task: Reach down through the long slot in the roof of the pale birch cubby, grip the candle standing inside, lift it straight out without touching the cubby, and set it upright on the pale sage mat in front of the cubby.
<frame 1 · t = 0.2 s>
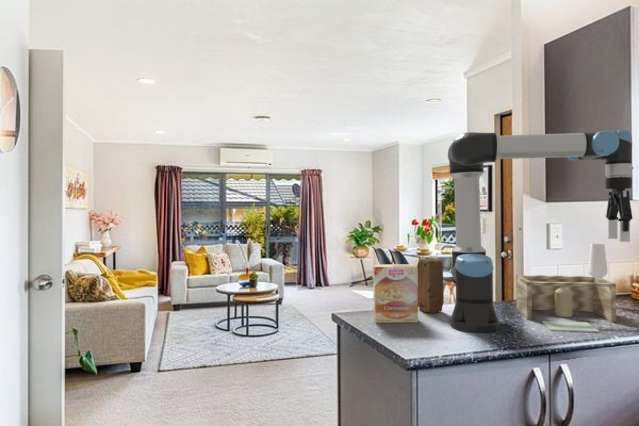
hand: (618, 240, 159), 28 cm above the countertop, fingers open, 13 cm apart
champagne flute: (597, 304, 189), on the countertop
candle: (563, 316, 170), on the countertop
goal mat: (569, 327, 154), on the countertop
block: (429, 311, 181), on the countertop
access cubby: (562, 314, 171), on the countertop
coffeecake box: (395, 321, 166), on the countertop
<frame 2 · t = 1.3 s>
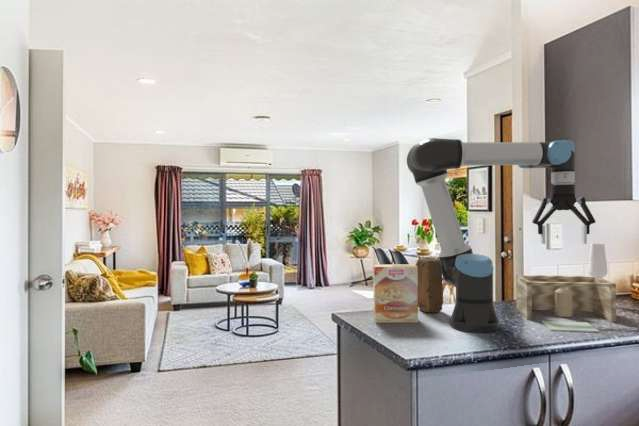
hand: (563, 243, 170), 26 cm above the countertop, fingers open, 13 cm apart
block: (429, 311, 181), on the countertop, touching arm
everything else where it was.
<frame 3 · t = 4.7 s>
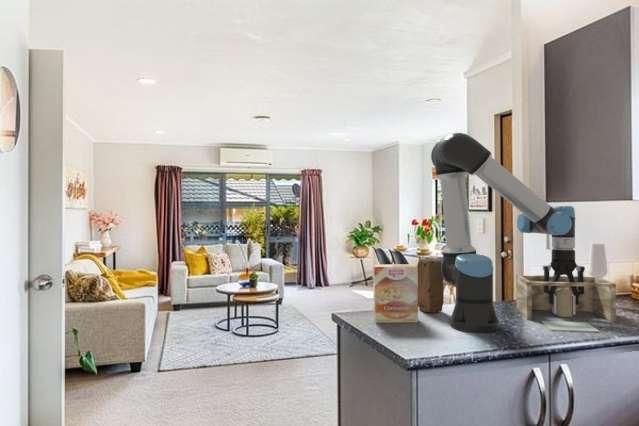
hand: (563, 313, 170), 1 cm above the countertop, fingers closed on candle, 5 cm apart
candle: (563, 316, 170), on the countertop, touching gripper
block: (429, 311, 181), on the countertop
everything else where it was.
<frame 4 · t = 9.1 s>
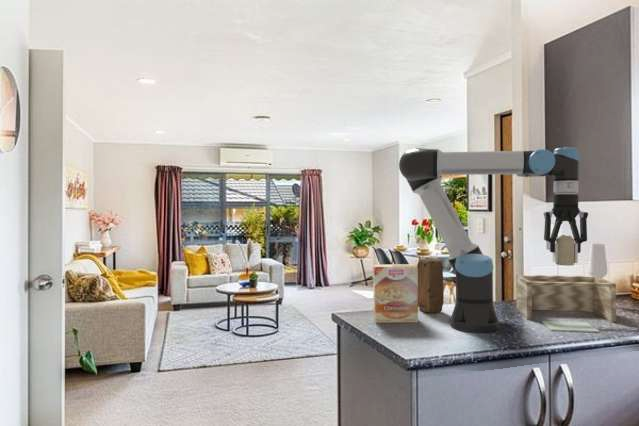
hand: (564, 262, 160), 20 cm above the countertop, fingers closed on candle, 5 cm apart
candle: (564, 265, 160), point 19 cm above the countertop, touching gripper
everything else where it was.
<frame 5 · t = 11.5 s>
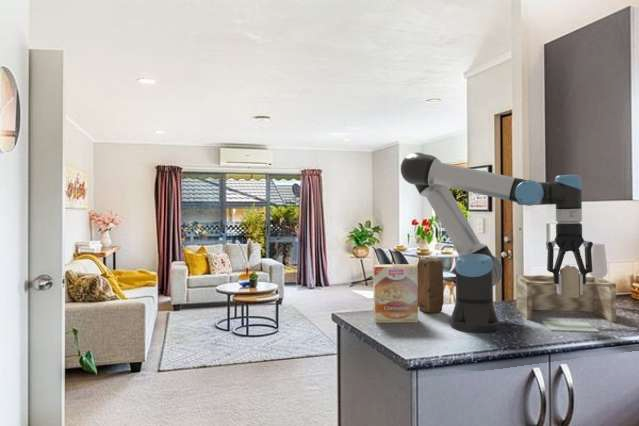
hand: (569, 293, 154), 11 cm above the countertop, fingers closed on candle, 5 cm apart
candle: (569, 297, 154), point 10 cm above the countertop, touching gripper
everything else where it was.
when the fingers open (3 cm above the countertop, at t = 13.3 s): candle drops 1 cm, resting on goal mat.
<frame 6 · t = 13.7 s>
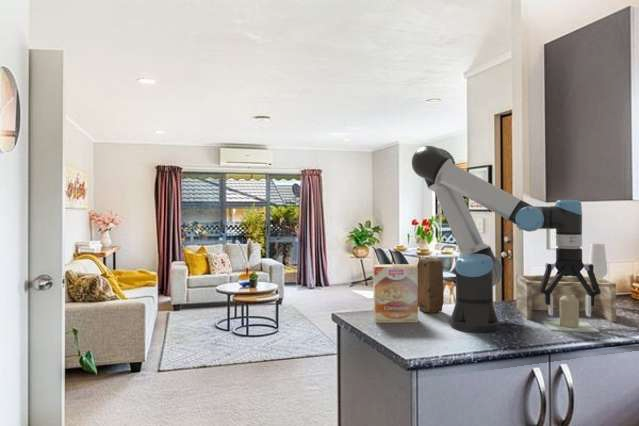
hand: (569, 315, 154), 4 cm above the countertop, fingers open, 10 cm apart
candle: (569, 326, 154), resting on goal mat
everything else where it was.
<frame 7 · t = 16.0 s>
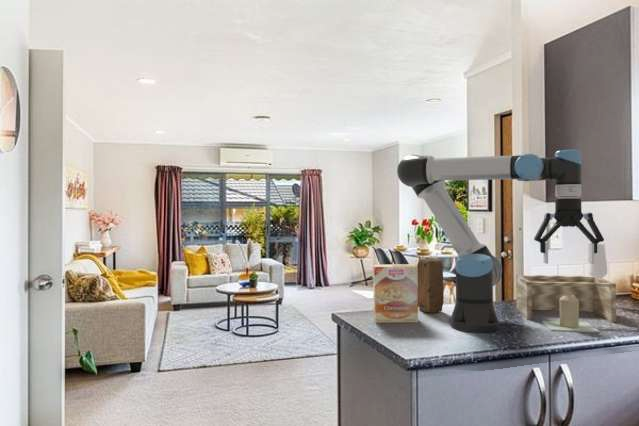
hand: (568, 263, 154), 21 cm above the countertop, fingers open, 13 cm apart
nothing on the countertop moved.
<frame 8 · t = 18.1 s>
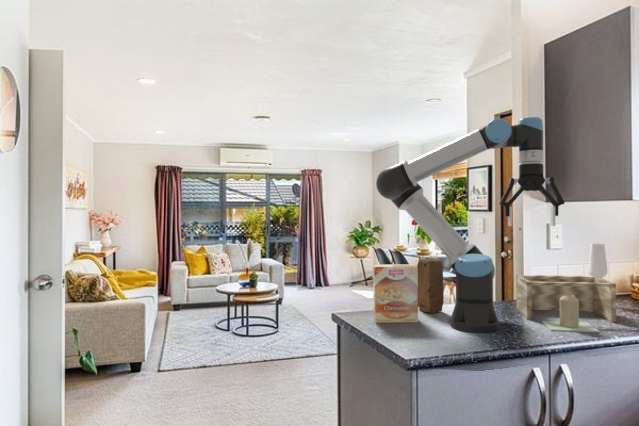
hand: (531, 226, 161), 33 cm above the countertop, fingers open, 13 cm apart
nothing on the countertop moved.
at the end: candle inside the target area on the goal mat (0.1 cm from its centre), point 0.3 cm above the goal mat's base; candle tilted 0°; the gripper is holding nothing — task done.
